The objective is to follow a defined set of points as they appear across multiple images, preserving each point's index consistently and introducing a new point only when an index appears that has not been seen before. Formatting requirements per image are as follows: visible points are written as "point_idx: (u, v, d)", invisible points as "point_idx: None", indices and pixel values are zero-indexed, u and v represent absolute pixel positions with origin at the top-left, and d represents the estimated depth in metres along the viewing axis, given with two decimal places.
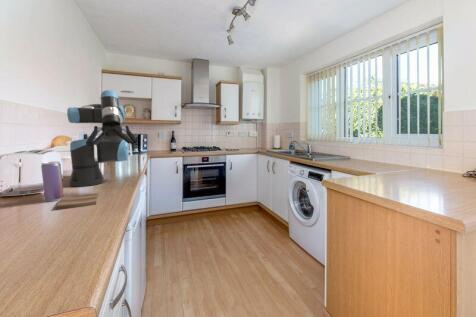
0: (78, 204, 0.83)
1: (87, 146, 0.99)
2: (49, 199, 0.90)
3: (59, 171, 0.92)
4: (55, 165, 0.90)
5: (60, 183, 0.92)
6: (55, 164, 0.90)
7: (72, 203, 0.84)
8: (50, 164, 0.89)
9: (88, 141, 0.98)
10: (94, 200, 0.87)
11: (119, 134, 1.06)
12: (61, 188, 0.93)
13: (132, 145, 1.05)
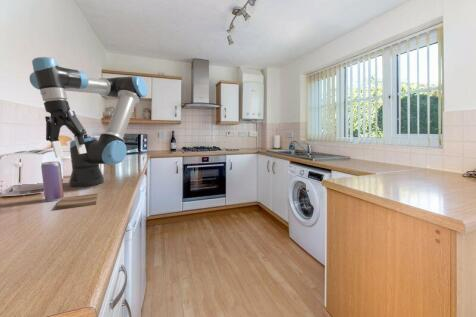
0: (78, 204, 0.83)
1: None
2: (49, 199, 0.90)
3: (59, 171, 0.92)
4: (55, 165, 0.90)
5: (60, 183, 0.92)
6: (55, 164, 0.90)
7: (72, 203, 0.84)
8: (50, 164, 0.89)
9: (47, 137, 0.93)
10: (94, 200, 0.87)
11: None
12: (61, 188, 0.93)
13: (78, 138, 0.88)
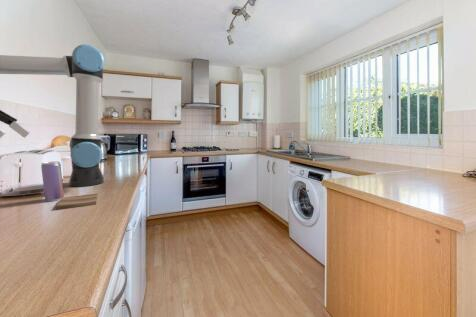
0: (78, 204, 0.83)
1: None
2: (49, 199, 0.90)
3: (59, 171, 0.92)
4: (55, 165, 0.90)
5: (60, 183, 0.92)
6: (55, 164, 0.90)
7: (72, 203, 0.84)
8: (50, 164, 0.89)
9: None
10: (94, 200, 0.87)
11: None
12: (61, 188, 0.93)
13: None
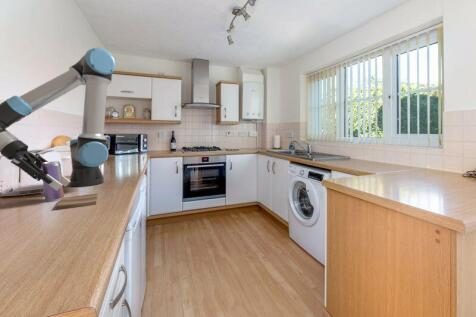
0: (78, 204, 0.83)
1: None
2: (49, 199, 0.90)
3: (59, 171, 0.92)
4: (55, 165, 0.90)
5: None
6: (55, 164, 0.90)
7: (72, 203, 0.84)
8: (50, 164, 0.89)
9: None
10: (94, 200, 0.87)
11: (29, 164, 0.88)
12: (61, 188, 0.93)
13: None
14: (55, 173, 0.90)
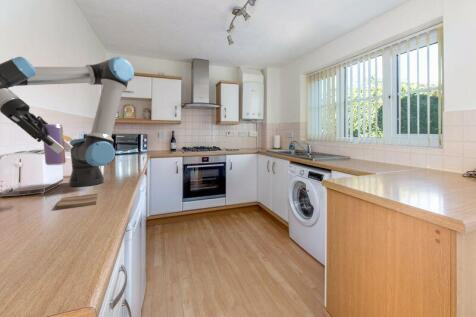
0: (78, 204, 0.83)
1: None
2: (50, 163, 0.85)
3: (61, 134, 0.87)
4: (57, 126, 0.85)
5: None
6: (56, 126, 0.85)
7: (72, 203, 0.84)
8: (51, 125, 0.84)
9: None
10: (94, 200, 0.87)
11: None
12: (62, 152, 0.88)
13: None
14: (56, 135, 0.85)
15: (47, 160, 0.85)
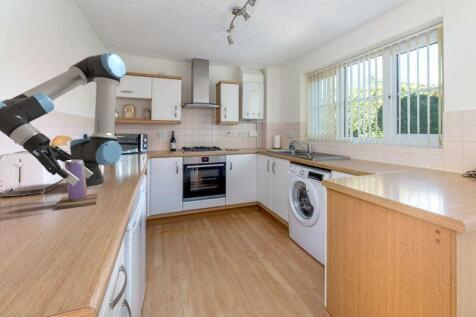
0: (78, 204, 0.83)
1: None
2: (73, 199, 0.85)
3: (83, 170, 0.87)
4: (79, 163, 0.86)
5: (84, 182, 0.88)
6: (79, 162, 0.85)
7: (72, 203, 0.84)
8: (74, 162, 0.84)
9: None
10: (94, 200, 0.87)
11: None
12: (85, 187, 0.88)
13: None
14: (79, 172, 0.86)
15: (70, 197, 0.85)
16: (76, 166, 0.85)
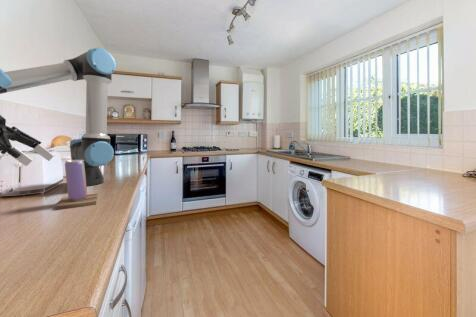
0: (78, 204, 0.83)
1: None
2: (73, 199, 0.85)
3: (83, 170, 0.87)
4: (79, 163, 0.86)
5: (84, 182, 0.88)
6: (79, 162, 0.86)
7: (72, 203, 0.84)
8: (74, 162, 0.84)
9: None
10: (94, 200, 0.87)
11: None
12: (85, 187, 0.88)
13: None
14: (79, 172, 0.86)
15: (70, 197, 0.85)
16: (76, 166, 0.85)
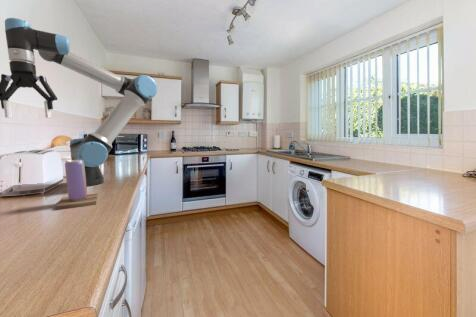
0: (78, 204, 0.83)
1: None
2: (73, 199, 0.85)
3: (83, 170, 0.87)
4: (80, 163, 0.86)
5: (84, 182, 0.88)
6: (79, 162, 0.86)
7: (72, 203, 0.84)
8: (74, 162, 0.84)
9: None
10: (94, 200, 0.87)
11: (33, 86, 0.92)
12: (85, 187, 0.88)
13: (48, 103, 0.94)
14: (79, 172, 0.86)
15: (70, 197, 0.85)
16: (76, 166, 0.85)
